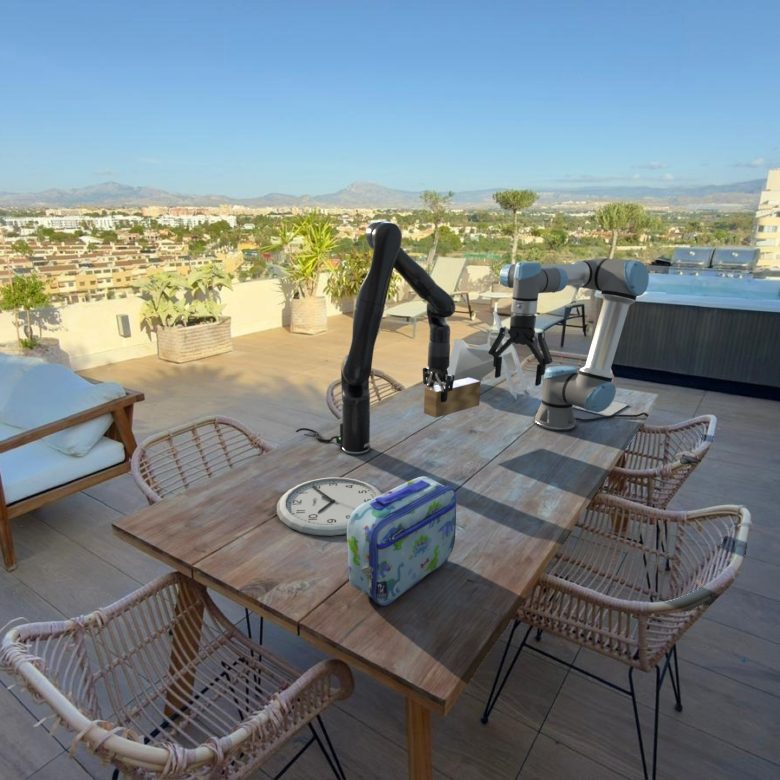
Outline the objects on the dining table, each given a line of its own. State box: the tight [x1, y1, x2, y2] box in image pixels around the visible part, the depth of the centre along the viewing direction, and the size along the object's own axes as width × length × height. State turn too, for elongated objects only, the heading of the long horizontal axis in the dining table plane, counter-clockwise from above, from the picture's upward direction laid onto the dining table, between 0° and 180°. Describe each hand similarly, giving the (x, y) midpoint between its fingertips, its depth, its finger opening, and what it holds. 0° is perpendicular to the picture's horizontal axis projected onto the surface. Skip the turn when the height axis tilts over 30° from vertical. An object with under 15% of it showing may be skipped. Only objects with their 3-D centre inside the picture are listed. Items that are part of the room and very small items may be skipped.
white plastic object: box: [447, 310, 531, 400], centre depth 245 cm, size 37×45×31 cm
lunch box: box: [346, 475, 457, 607], centre depth 111 cm, size 26×11×21 cm, turn 134°
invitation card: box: [573, 400, 629, 417], centre depth 226 cm, size 21×1×15 cm
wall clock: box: [276, 476, 384, 537], centre depth 142 cm, size 30×2×30 cm
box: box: [423, 378, 482, 419], centre depth 191 cm, size 22×6×10 cm, turn 128°
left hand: (436, 399), depth 186 cm, fingers closed on box, 6 cm apart
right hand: (517, 380), depth 166 cm, fingers open, 13 cm apart
